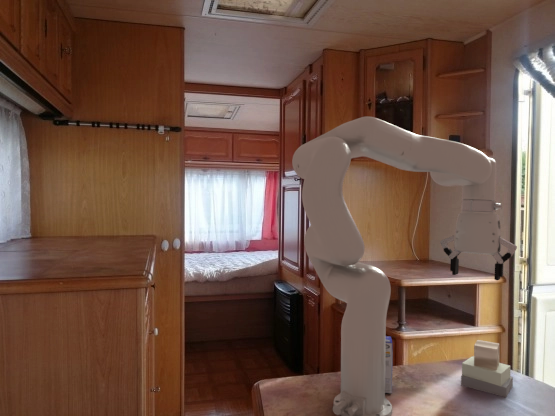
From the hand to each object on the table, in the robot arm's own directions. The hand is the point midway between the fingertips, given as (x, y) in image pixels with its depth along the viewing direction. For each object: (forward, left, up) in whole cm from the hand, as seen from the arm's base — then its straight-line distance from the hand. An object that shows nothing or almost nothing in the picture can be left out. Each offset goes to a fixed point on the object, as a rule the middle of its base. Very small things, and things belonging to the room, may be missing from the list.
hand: (475, 276), depth 102 cm
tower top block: (+2, -2, -25) cm, 25 cm away
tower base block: (+2, -2, -28) cm, 28 cm away
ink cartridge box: (-17, +20, -27) cm, 38 cm away
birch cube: (+2, -2, -22) cm, 22 cm away
